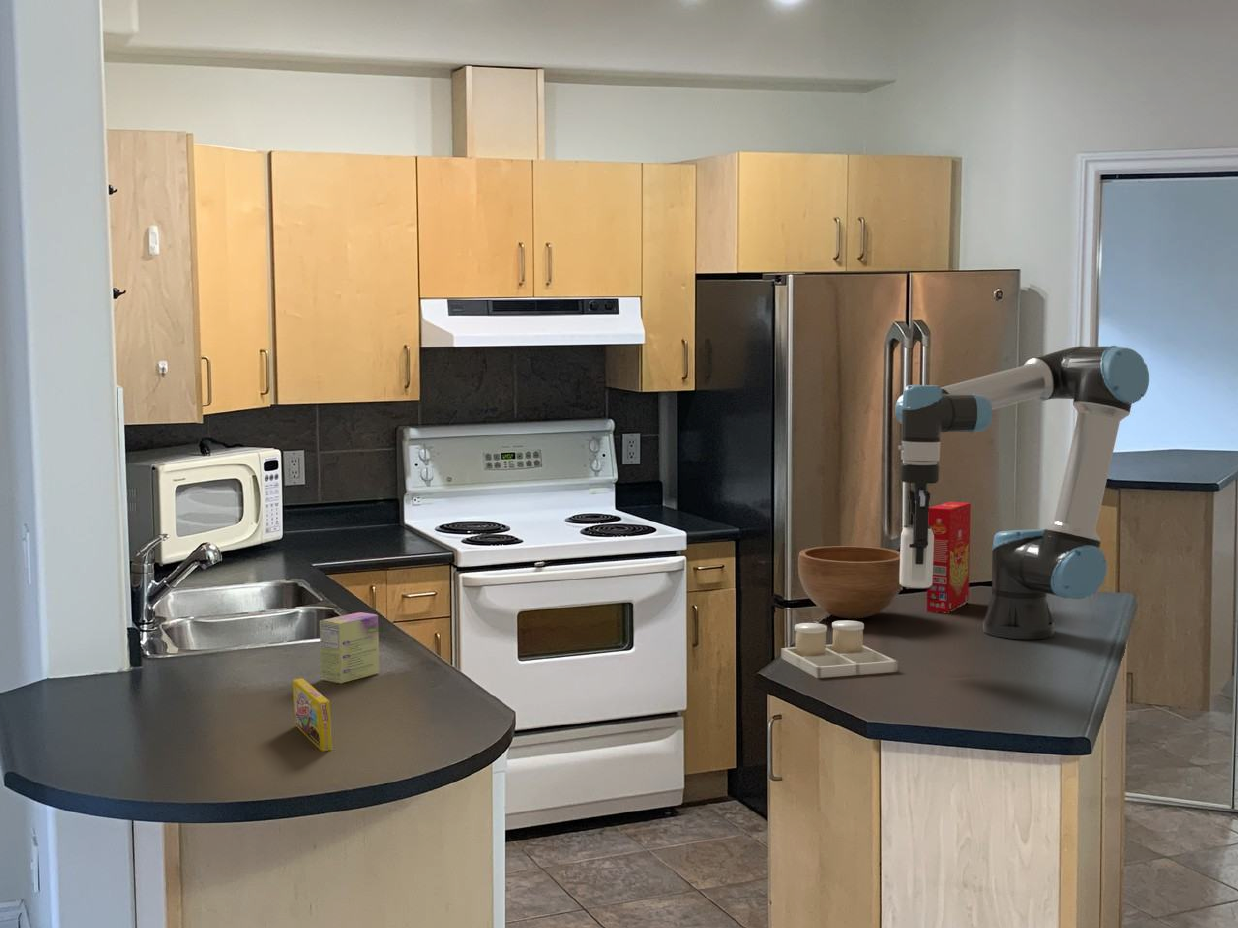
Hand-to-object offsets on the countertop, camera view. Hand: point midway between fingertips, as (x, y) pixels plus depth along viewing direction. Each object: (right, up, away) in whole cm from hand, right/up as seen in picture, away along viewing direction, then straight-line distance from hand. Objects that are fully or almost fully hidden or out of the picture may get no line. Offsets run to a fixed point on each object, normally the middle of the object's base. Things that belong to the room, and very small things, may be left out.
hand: (916, 576), depth 272 cm
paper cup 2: (-13, -17, +4) cm, 22 cm away
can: (0, -2, 0) cm, 2 cm away
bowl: (-5, -14, +47) cm, 49 cm away
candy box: (-110, -23, -48) cm, 122 cm away
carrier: (-16, -18, -1) cm, 24 cm away
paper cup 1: (-21, -17, +2) cm, 27 cm away
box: (-112, -19, -8) cm, 114 cm away
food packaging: (+21, -12, +58) cm, 63 cm away
